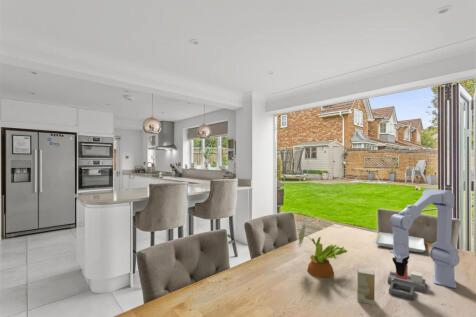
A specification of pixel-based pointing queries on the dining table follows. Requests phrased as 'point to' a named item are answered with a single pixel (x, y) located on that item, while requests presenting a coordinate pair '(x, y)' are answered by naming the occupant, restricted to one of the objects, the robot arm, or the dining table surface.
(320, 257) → the decorative plant
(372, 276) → the skincare box
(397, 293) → the grey square frame
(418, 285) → the breaker panel
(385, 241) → the square plate
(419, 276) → the block
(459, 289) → the dining table surface
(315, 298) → the dining table surface
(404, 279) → the red block
